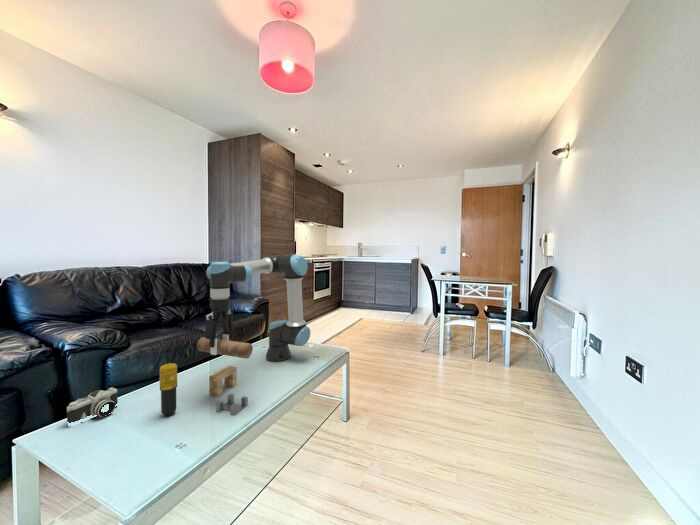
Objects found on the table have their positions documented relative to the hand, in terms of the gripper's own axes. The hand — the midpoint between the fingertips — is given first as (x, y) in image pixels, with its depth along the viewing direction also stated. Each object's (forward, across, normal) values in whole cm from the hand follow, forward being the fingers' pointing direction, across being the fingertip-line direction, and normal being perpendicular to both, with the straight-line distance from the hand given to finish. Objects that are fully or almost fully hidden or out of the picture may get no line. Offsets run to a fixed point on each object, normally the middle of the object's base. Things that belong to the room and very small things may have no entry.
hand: (219, 351), depth 119 cm
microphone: (+23, +15, -16) cm, 31 cm away
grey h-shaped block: (+22, +2, +9) cm, 24 cm away
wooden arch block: (+22, -9, -7) cm, 25 cm away
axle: (+1, 0, +2) cm, 3 cm away
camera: (+23, +24, -37) cm, 50 cm away
